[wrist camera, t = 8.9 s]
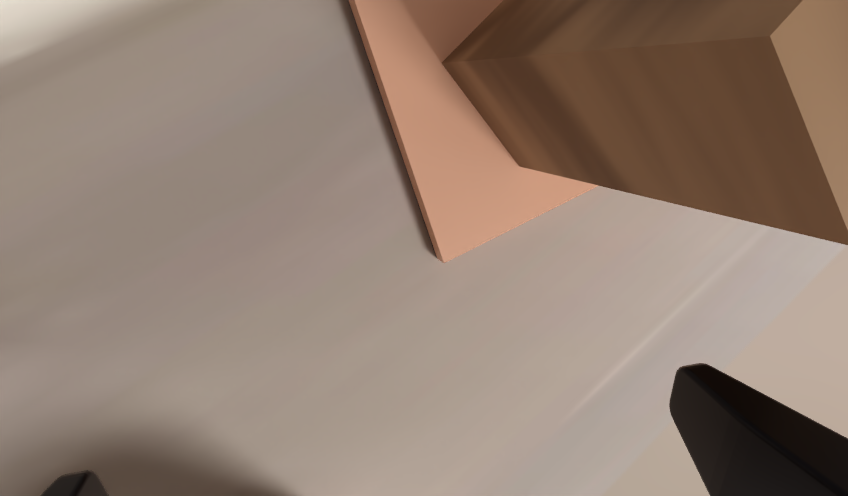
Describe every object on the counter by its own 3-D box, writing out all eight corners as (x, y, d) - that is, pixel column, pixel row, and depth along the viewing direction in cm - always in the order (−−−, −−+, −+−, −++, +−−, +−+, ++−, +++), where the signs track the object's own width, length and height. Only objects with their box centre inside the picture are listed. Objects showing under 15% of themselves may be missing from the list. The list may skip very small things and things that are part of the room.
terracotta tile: (437, 258, 22) (443, 263, 21) (333, -44, 17) (338, -48, 17) (651, 152, 25) (662, 153, 24) (607, -130, 20) (619, -136, 20)
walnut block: (519, 166, 21) (854, 246, 11) (441, 62, 19) (770, 35, 9) (604, 76, 22) (1006, 68, 11) (538, -36, 20) (964, -177, 9)
